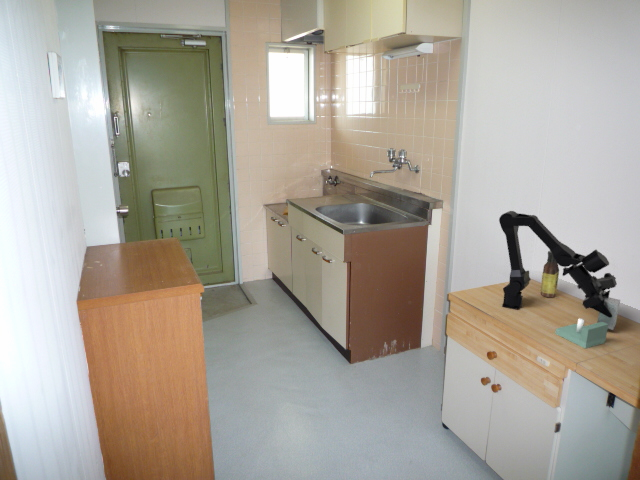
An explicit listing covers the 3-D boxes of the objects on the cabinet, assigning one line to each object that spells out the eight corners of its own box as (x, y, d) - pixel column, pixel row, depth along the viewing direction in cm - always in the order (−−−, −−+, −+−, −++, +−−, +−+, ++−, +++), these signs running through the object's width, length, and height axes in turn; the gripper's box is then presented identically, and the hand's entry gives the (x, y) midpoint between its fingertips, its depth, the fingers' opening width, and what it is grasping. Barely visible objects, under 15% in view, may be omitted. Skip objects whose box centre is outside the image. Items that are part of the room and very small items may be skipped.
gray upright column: (596, 325, 172) (601, 300, 169) (599, 321, 176) (604, 296, 173) (613, 329, 169) (617, 304, 166) (615, 325, 173) (620, 299, 170)
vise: (555, 333, 170) (557, 315, 168) (574, 328, 174) (577, 311, 172) (585, 348, 159) (588, 329, 157) (605, 342, 163) (608, 324, 161)
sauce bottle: (557, 298, 201) (564, 254, 196) (541, 297, 202) (548, 253, 197) (553, 293, 207) (559, 250, 202) (538, 292, 209) (544, 249, 203)
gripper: (598, 274, 162) (630, 312, 158) (608, 261, 176) (637, 296, 172) (570, 290, 169) (599, 327, 165) (581, 276, 183) (609, 310, 179)
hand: (612, 314), depth 170 cm, fingers closed on gray upright column, 5 cm apart
